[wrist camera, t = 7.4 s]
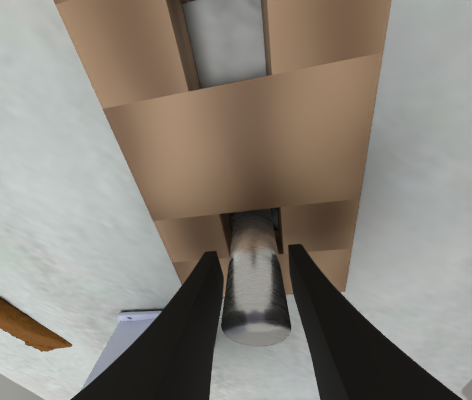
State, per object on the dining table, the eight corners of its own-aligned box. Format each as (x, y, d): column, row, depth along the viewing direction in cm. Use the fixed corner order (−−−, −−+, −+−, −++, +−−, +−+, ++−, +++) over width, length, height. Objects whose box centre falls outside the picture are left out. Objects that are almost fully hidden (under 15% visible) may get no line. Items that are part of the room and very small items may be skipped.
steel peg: (238, 228, 15) (228, 346, 8) (232, 199, 14) (214, 309, 7) (272, 224, 15) (292, 345, 8) (269, 194, 13) (289, 305, 6)
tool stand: (196, 274, 18) (188, 299, 16) (46, -116, 7) (-39, -203, 5) (332, 264, 16) (345, 291, 14) (383, -249, 6) (463, -453, 4)
